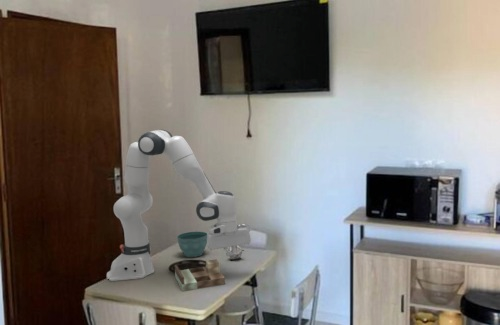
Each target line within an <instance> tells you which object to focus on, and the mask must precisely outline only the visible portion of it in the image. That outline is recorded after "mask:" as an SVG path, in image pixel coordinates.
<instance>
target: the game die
mask: <svg viewBox="0 0 500 325" xmlns="http://www.w3.org/2000/svg"><path fill="white" fill-rule="evenodd" d="M231 250H232V247H228V249H227V251H228V252H230V251H231ZM243 252H245V250H244V249H242V247H241V245H238V246H235V250H234V252H233V254H234V255H233V256H229V257H230V259H231V260H230V261H231V262H232V261H233V260H237V259H238V260H239V259H240V260H242V258H241V257H242V254H243Z"/></svg>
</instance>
